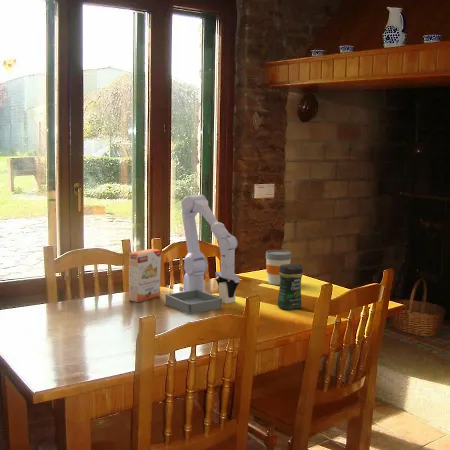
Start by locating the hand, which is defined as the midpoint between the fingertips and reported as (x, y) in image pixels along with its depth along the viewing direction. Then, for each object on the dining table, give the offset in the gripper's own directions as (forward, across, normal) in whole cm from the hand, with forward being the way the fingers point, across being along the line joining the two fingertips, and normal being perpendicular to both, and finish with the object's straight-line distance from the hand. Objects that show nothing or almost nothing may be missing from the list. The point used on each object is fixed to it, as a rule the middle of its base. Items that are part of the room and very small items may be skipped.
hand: (227, 295), depth 257 cm
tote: (+2, +2, +16) cm, 16 cm away
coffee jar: (+3, -22, -16) cm, 27 cm away
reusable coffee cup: (+3, +13, -41) cm, 43 cm away
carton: (+2, 0, 0) cm, 2 cm away
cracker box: (+3, +23, +27) cm, 36 cm away
